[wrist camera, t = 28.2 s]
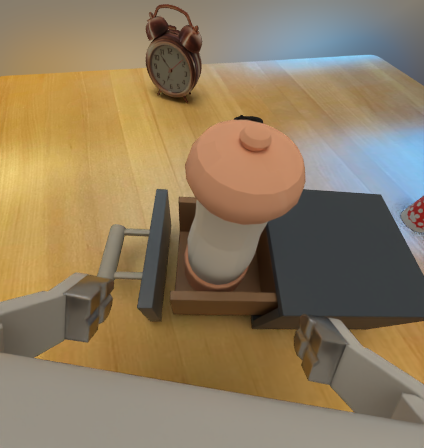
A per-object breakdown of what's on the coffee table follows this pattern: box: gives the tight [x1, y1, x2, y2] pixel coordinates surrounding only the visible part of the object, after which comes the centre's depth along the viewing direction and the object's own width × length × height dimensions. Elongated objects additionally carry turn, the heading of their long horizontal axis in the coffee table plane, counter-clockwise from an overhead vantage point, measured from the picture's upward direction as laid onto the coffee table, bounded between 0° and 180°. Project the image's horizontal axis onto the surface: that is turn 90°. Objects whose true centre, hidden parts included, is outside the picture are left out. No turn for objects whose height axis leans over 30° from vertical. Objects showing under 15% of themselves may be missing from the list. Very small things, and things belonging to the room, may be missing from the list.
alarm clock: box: [146, 4, 202, 103], centre depth 43 cm, size 11×5×15 cm, turn 74°
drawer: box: [97, 189, 278, 321], centre depth 24 cm, size 18×12×8 cm
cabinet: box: [251, 189, 424, 329], centre depth 26 cm, size 15×14×10 cm
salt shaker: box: [184, 120, 305, 292], centre depth 19 cm, size 7×7×19 cm
